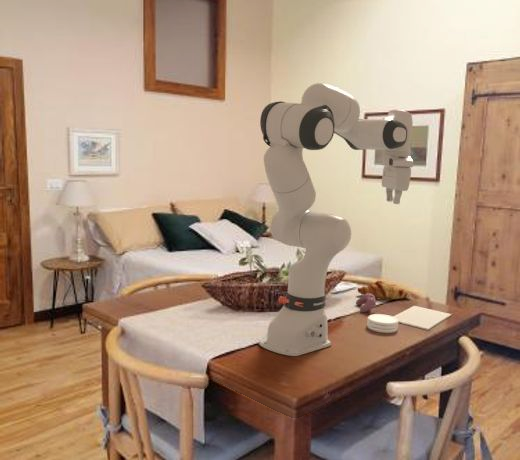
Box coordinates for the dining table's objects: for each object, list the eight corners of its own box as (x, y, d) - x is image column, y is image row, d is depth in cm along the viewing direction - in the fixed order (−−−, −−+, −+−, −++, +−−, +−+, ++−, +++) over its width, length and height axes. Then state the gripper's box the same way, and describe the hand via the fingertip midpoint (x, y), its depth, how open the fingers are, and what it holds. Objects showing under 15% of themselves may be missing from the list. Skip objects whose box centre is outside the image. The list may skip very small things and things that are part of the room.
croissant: (407, 305, 209) (407, 285, 212) (414, 300, 200) (413, 280, 203) (355, 300, 211) (356, 282, 213) (359, 295, 201) (359, 276, 204)
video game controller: (369, 317, 185) (380, 300, 184) (359, 311, 185) (369, 294, 184) (364, 309, 195) (374, 293, 194) (354, 303, 195) (363, 287, 194)
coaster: (398, 325, 173) (399, 315, 172) (396, 335, 164) (397, 324, 163) (368, 321, 176) (369, 312, 175) (365, 331, 167) (366, 320, 166)
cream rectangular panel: (428, 330, 169) (428, 328, 169) (388, 320, 178) (388, 318, 178) (451, 315, 186) (451, 314, 186) (414, 307, 195) (414, 305, 195)
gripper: (378, 160, 179) (375, 199, 181) (395, 160, 159) (391, 205, 161) (396, 160, 179) (393, 200, 181) (415, 161, 159) (411, 206, 161)
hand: (392, 202), depth 171 cm, fingers open, 7 cm apart
